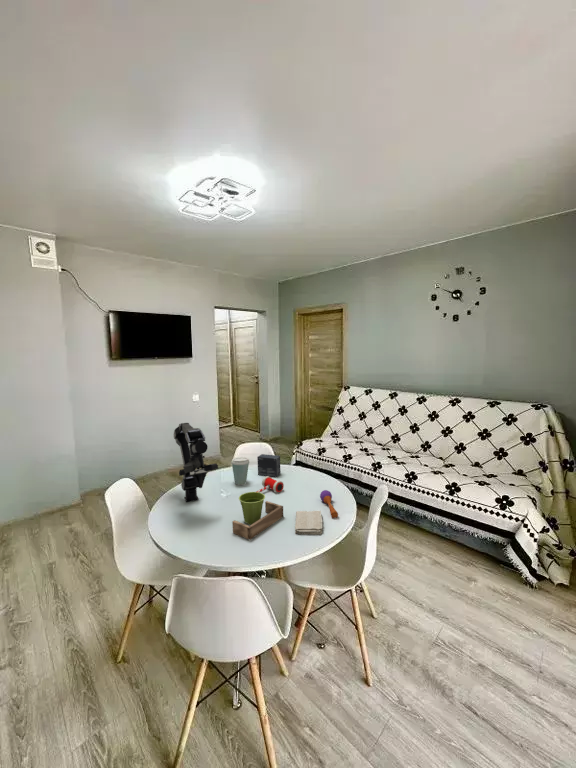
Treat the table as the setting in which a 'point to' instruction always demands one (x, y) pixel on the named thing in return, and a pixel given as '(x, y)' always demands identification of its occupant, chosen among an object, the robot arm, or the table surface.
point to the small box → (269, 465)
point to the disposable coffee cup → (240, 470)
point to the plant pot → (252, 506)
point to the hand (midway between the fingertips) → (200, 488)
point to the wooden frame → (259, 522)
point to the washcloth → (308, 522)
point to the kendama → (328, 502)
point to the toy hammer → (271, 485)
